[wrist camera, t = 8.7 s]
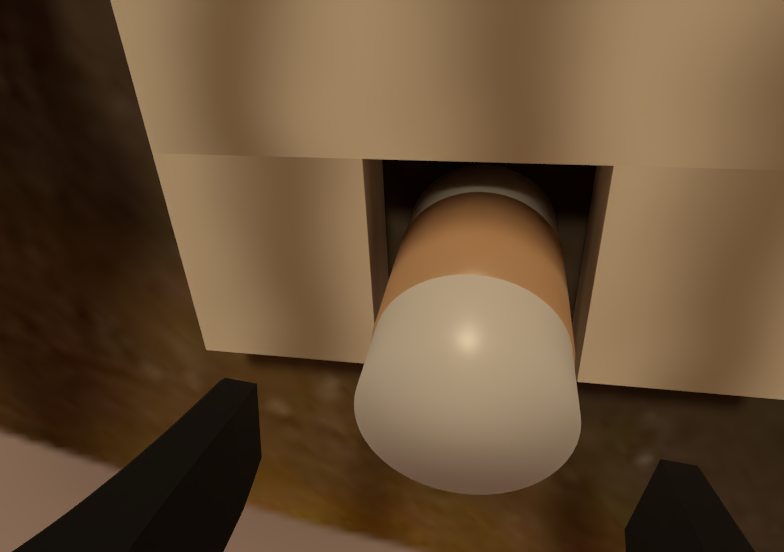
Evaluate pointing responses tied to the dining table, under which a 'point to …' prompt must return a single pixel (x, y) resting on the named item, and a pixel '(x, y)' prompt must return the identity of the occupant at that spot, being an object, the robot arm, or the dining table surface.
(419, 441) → the bobbin
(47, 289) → the dining table surface
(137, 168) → the dining table surface
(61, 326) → the dining table surface
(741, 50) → the notched board
